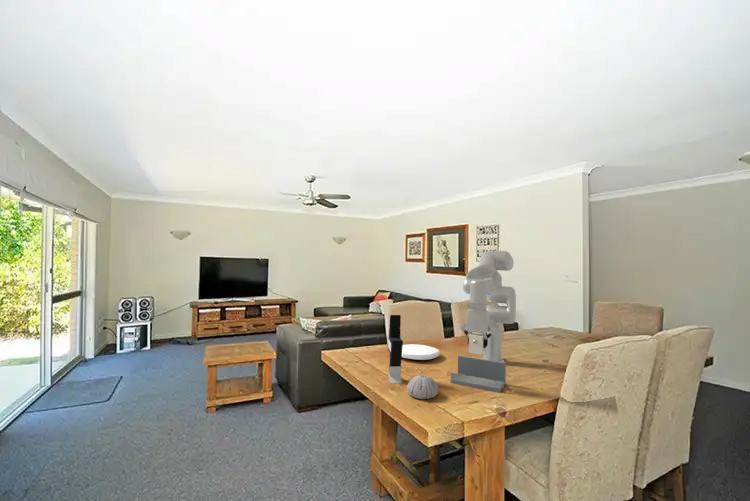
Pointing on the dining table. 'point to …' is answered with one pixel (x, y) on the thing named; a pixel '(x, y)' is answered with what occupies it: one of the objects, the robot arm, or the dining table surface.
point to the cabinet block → (476, 343)
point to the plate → (419, 352)
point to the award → (395, 349)
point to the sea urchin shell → (422, 387)
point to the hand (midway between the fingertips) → (477, 346)
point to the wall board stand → (480, 373)
